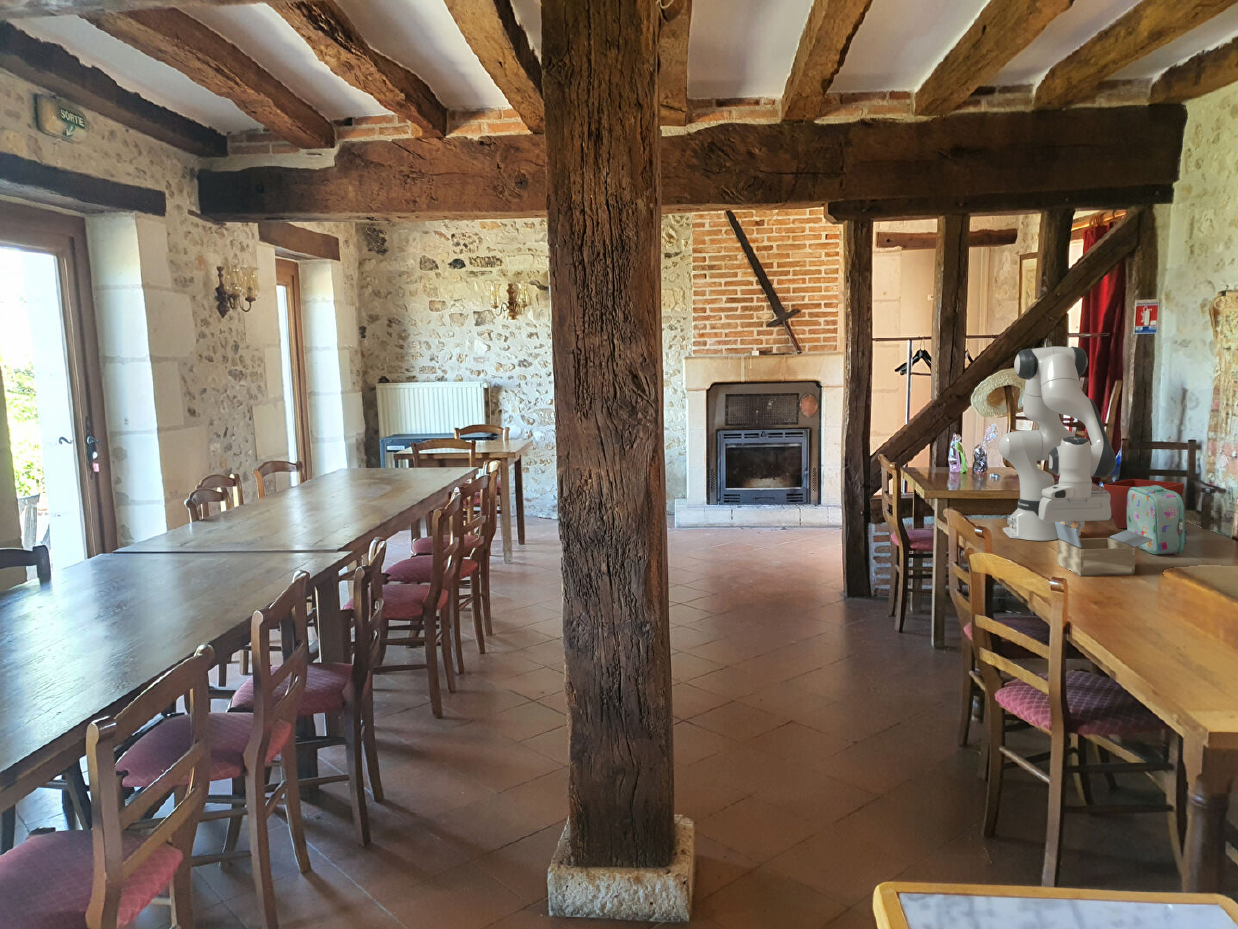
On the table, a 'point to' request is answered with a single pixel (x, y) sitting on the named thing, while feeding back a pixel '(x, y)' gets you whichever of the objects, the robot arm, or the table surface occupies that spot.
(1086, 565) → the crate
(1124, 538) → the flap
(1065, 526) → the flap
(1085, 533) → the table surface
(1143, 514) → the lunch box
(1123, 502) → the plant pot
